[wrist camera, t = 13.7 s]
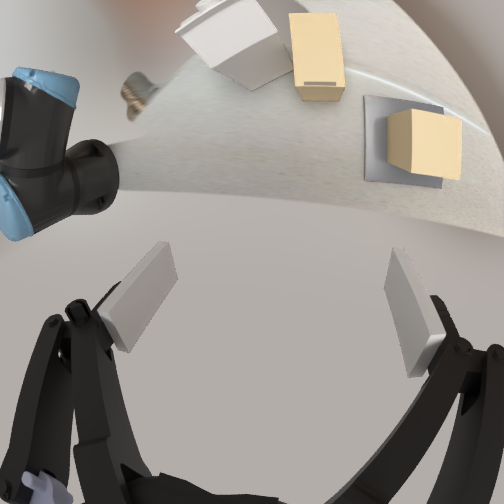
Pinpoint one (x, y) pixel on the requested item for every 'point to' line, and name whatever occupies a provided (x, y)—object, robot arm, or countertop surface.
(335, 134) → the countertop surface
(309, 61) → the cardboard shipping box
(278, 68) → the milk carton
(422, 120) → the tan rectangular block
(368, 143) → the plate
